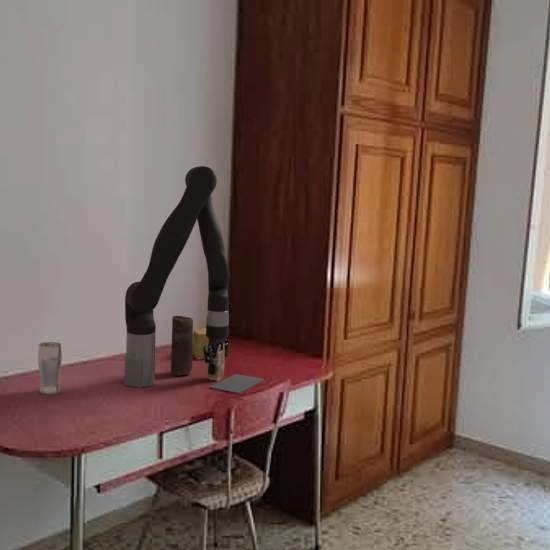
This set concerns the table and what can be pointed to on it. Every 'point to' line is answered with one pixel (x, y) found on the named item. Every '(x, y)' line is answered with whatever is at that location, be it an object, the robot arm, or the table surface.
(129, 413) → the table surface
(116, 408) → the table surface
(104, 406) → the table surface
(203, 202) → the robot arm
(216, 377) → the block
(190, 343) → the brown rough cylinder
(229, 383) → the mat
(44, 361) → the beer glass
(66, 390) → the table surface
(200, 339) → the cheese
